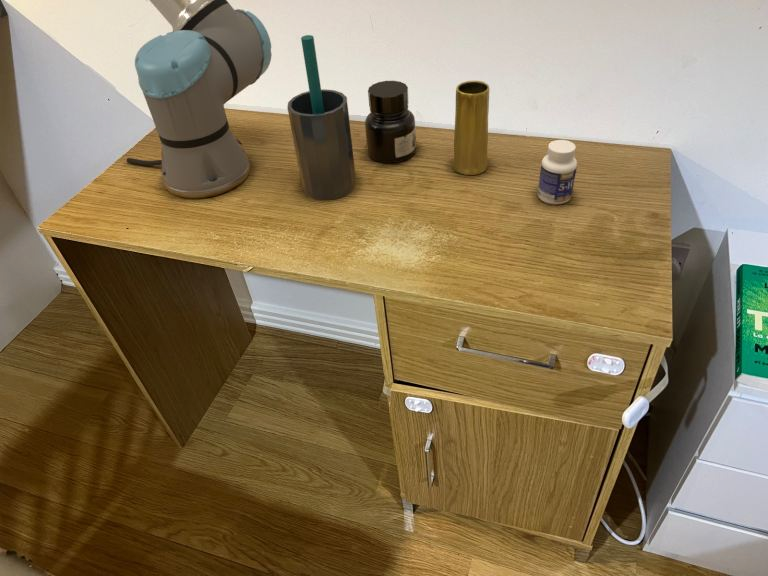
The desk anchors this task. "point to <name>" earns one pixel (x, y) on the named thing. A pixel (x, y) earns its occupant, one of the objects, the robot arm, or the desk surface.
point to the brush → (312, 74)
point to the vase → (471, 128)
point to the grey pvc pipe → (323, 145)
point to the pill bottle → (558, 173)
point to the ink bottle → (390, 123)
